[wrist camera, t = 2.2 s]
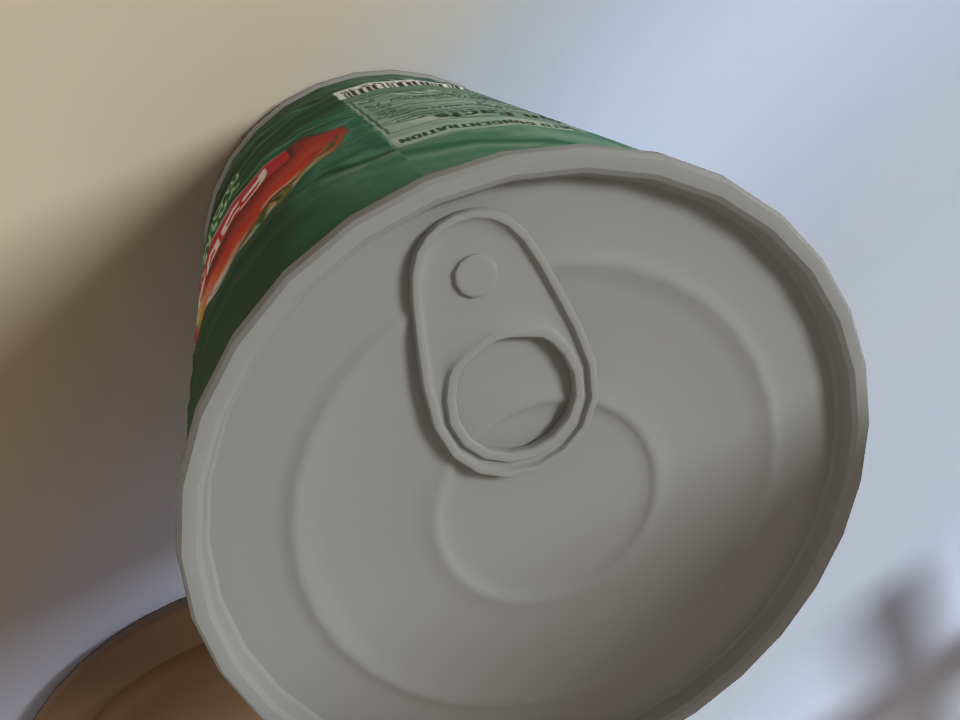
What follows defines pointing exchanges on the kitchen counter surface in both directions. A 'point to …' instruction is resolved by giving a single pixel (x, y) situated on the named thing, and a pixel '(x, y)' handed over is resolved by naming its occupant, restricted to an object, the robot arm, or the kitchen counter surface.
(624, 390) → the canned tomato
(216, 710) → the pedestal
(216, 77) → the kitchen counter surface
